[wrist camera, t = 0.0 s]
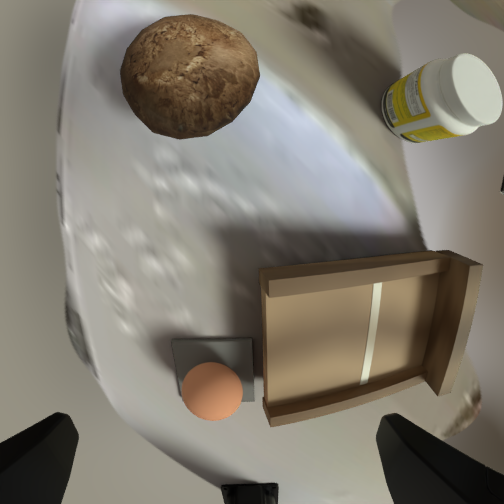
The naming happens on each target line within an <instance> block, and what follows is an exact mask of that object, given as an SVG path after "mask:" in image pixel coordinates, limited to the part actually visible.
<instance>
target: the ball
mask: <svg viewBox="0 0 504 504" xmlns="http://www.w3.org/2000/svg"><path fill="white" fill-rule="evenodd" d="M242 397H243V388H242V384H241V381H240V379H239V377H238V376H237V374H236V373H235V372H234V371H233V370H232V369H230V368H229V367H227V366H225V365H223V364H220V363H215V362H207V363H202V364H199V365H197V366H195V367H194V368H192V369H191V370H190V371H189V372H188V373H187V375H186V376H185V378H184V380H183V383H182V398H183V401H184V403H185V405H186V407H187V408H188V409H189V410H190V411H191V412H192V413H193V414H194V415H196V416H197V417H199V418H202V419H205V420H210V421H216V420H221V419H224V418H227V417H229V416H230V415H232V414H233V413H234V412H235V411H236V410H237V409H238V407H239V405H240V403H241V401H242Z"/></svg>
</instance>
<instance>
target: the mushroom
mask: <svg viewBox="0 0 504 504" xmlns="http://www.w3.org/2000/svg"><path fill="white" fill-rule="evenodd" d="M120 75H121V83H122V90H123V95H124V97H125V98H126V100H127V102H128V104H129V105H130V107H131V109H132V110H133V112H134V114H135V115H136V116H137V117H138V118H139V119H140V120H141V121H142V122H143V123H144V124H145V125H146V126H147V127H148V128H149V129H150V130H151V131H152V132H153V133H156V134H160V135H164V136H168V137H172V138H176V139H187V138H194V137H203V136H208V135H210V134H212V133H214V132H215V131H217V130H219V129H220V128H222V127H224V126H226V125H227V124H229V123H231V122H233V120H234V119H235V118H236V117H237V116H238V115H239V114H240V113H241V111H242V110H243V109H244V108H245V107H246V106H247V105H248V104H249V103H250V101H251V99H252V96H253V93H254V91H255V88H256V85H257V83H258V80H259V77H260V72H259V66H258V59H257V53H256V51H255V50H254V48H253V47H252V46H251V44H250V43H249V42H248V41H247V39H246V38H245V37H244V35H243V34H242V33H241V32H239V31H237V30H235V29H233V28H232V27H230V26H228V25H226V24H224V23H222V22H220V21H217V20H213V19H209V18H205V17H201V16H197V15H191V14H190V15H179V16H170V17H164V18H162V19H160V20H158V21H157V22H155V23H153V24H151V25H150V26H148V27H146V28H144V29H143V30H142V31H141V32H140V33H139V34H138V35H137V37H136V38H135V39H134V40H133V42H132V43H131V44H130V46H129V47H128V48H127V50H126V53H125V57H124V60H123V63H122V66H121V70H120Z"/></svg>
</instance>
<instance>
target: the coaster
mask: <svg viewBox="0 0 504 504" xmlns="http://www.w3.org/2000/svg"><path fill="white" fill-rule="evenodd" d="M171 343H172V349H173V355H174V360H175V366H176V371H177V376H178V381H179V386H180V390H181V395H182V383H183V380H184V378H185V376H186V375H187V373H188V372H189V371H190V370H191V369H192V368H194V367H195V366H197V365H199V364H202V363H207V362H215V363H220V364H223V365H225V366H227V367H229V368H230V369H232V370H233V371H234V372H235V373H236V374H237V376H238V377H239V379H240V381H241V384H242V388H243V397H242V401H241V402H252V401H255V400H254V378H253V355H252V338H241V339H172V341H171ZM182 400H183V398H182ZM183 402H184V401H183Z"/></svg>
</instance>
